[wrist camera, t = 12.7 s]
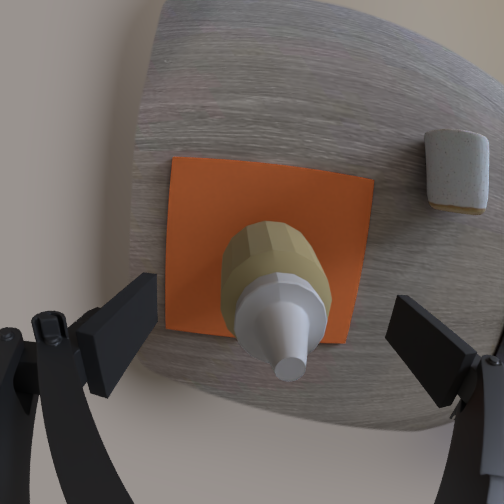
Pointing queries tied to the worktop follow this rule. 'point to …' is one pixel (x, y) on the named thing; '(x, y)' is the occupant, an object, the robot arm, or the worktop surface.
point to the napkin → (253, 211)
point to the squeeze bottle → (274, 296)
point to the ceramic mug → (457, 171)
